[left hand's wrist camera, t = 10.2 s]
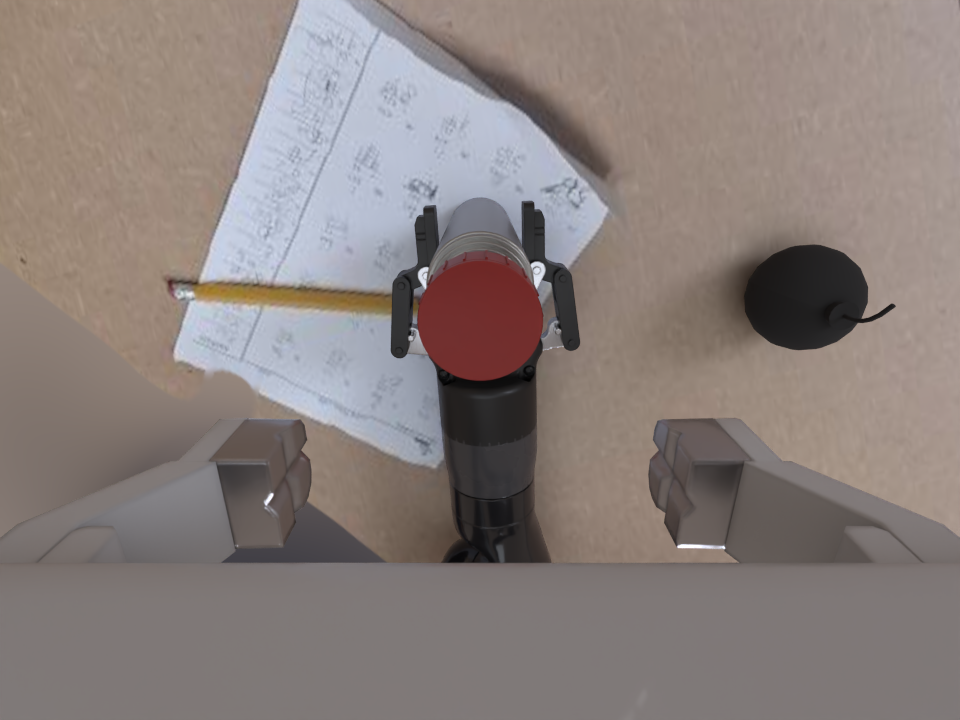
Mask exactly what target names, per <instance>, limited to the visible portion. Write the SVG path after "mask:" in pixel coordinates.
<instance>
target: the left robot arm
mask: <svg viewBox="0 0 960 720" xmlns="http://www.w3.org/2000/svg"><path fill="white" fill-rule="evenodd" d="M306 441H307V437H306V431H305V426H304V424H303V422H302V421H301V420H300V419H249V418H229V419H219V420H218V421H217V422H216V423H215V424H214V425H213V426H212V427H211V428H210V429H209V430H208V431H207V432H206V434H204V435H203V436H202V437H201V438H200V439H199V440H198V441H197V442H196V443H195V444H194V445H193V446H192V447H191V448H190V449H189V450H188V451H187V452H186V453H185V454H184V455H183V456H182V457H181V458H180V459H179V460H178V461H169V462H166V463H164V464H161V465H159V466H156V467H154V468H152V469H149V470H147V471H144V472H142V473H140V474H137V475H135V476H132V477H130V478H127V479H125V480H123V481H120V482H118V483H115V484H113V485H111V486H108V487H106V488H103V489H101V490H99V491H96V492H94V493H91V494H89V495H87V496H84V497H82V498H79V499H77V500H74V501H72V502H70V503H67V504H65V505H62V506H60V507H58V508H55V509H53V510H50V511H48V512H46V513H43V514H41V515H38V516H36V517H33V518H31V519H29V520H26V521H24V522H21V523H19V524H17V525H16V526H15V527H13V528H12V529H11V530H10V531H8V532H7V533H6V534H5V535H3V536H2V537H1V538H0V720H960V537H958V536H957V535H956V534H955V533H953V532H952V531H951V530H950V529H948V528H947V527H946V526H945V525H943V524H941V523H938V522H936V521H933V520H931V519H929V518H926V517H924V516H921V515H919V514H917V513H914V512H912V511H909V510H907V509H905V508H902V507H900V506H897V505H895V504H893V503H890V502H888V501H885V500H883V499H880V498H878V497H876V496H873V495H871V494H868V493H866V492H864V491H861V490H859V489H856V488H854V487H852V486H849V485H847V484H844V483H842V482H840V481H837V480H835V479H832V478H830V477H828V476H825V475H823V474H820V473H818V472H816V471H813V470H811V469H808V468H806V467H804V466H801V465H799V464H796V463H794V462H792V461H782V460H781V459H780V458H779V457H778V456H777V455H776V454H775V453H774V452H773V451H772V450H771V449H770V448H769V447H768V446H767V445H766V444H765V443H764V442H763V441H762V440H761V439H760V438H759V437H758V436H757V435H756V434H755V433H754V432H753V431H752V430H751V429H750V428H749V427H748V426H747V425H746V424H745V423H744V422H743V421H742V420H740V419H737V418H720V419H713V418H705V419H663V420H659V421H657V424H656V427H655V430H654V436H653V441H654V443H655V444H656V446H657V448H658V449H659V451H658V452H657V453H656V454H655V455H654V456H653V457H652V458H651V459H650V465H649V474H648V475H649V488H650V492H651V496H652V499H653V501H654V503H655V505H656V507H657V508H659V509H660V510H662V511H663V512H665V513H666V514H665V521H664V523H665V525H666V527H667V529H668V531H669V533H670V535H671V537H672V539H673V541H674V543H675V545H676V547H677V548H713V549H725V550H724V551H725V552H727V553H728V554H729V555H730V556H732V557H733V558H734V559H736V560H737V561H738V562H739V563H221V562H222V561H223V560H225V559H226V558H227V557H229V556H230V555H231V554H232V553H234V552H235V549H246V548H283V547H284V545H285V543H286V541H287V539H288V537H289V535H290V533H291V531H292V529H293V527H294V525H295V523H296V521H295V514H294V513H295V512H296V511H298V510H300V509H301V508H303V507H304V505H305V503H306V501H307V499H308V496H309V491H310V487H311V464H310V459H309V458H308V457H307V456H306V455H305V454H304V453H303V452H302V451H301V449H302V448H303V446H304V444H305V443H306Z"/></svg>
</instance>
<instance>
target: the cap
mask: <svg viewBox="0 0 960 720" xmlns="http://www.w3.org/2000/svg"><path fill="white" fill-rule="evenodd" d="M538 296H539V294H538V292H537V289H536V287H535V285H533V284H532V282H531V280H530V279H529V277H528V275H527V274H526V272H525V269H524V268H521V267H520V266H519V265H517V264H516V263H515V262H513V261H512V260H510V259H509V258H508V256H502V255H500V254H496V253H493V252H488V251H487V250H485V251H474V252H468V253H466V252H464V254H460V255H458V256H456V257H453V258H452V259H450V260H448V261H447V260H446V261H445V262H444V264H443V265H442V266H441V267H440V268H439V269H438V270H437V271H436V272H435V273H434V275H432V274H431V276H430V278H429V281H428V283H427V287H426V290H425V292H424V293H423V294H422V296H421V299H420V301H419V304H418V305H419V310H418V318H417V325H418V331H419V336H420V339H421V342H422V344H423V346H424V348H425V350H426V352H427V353H428V355H429V356H430V357H431V358H432V360H433V361H434V362H435V363H436V364H437V365H439V366H440V367H441V368H442V369H444V370H445V371H447V372H449V373H450V374H452V375H455V376H457V377H460V378H463V379H468V380H475V381H486V380H493V379H497V378H500V377H503V376H506V375H508V374H510V373H512V372H514V371H515V370H517V369H518V368H519V367H521V366H522V365H523V364H524V363H525V362H526V361H527V360H528V359H529V358H530V356H531V355H532V354H533V352H534V351H535V349H536V347H537V345H538V343H539V340H540V337H541V333H542V328H543V313H542V308H541V304H540V301H539V299H538Z"/></svg>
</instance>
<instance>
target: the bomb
mask: <svg viewBox="0 0 960 720" xmlns="http://www.w3.org/2000/svg"><path fill="white" fill-rule="evenodd" d="M744 300H745V312H746V314H747V316H748V318H749V320H750V322H751V324H752V326H753V328H754V330H756V331H757V332H758V333H759V334H760V335H762V336H763V337H764V338H765V339H767V340H768V341H769V342H770V343H773V344H775V345H778V346H782V347H785V348H789V349H793V350H807V349H817V348H822V347H824V346H827V345H829V344H832V343H835V342H837V341H838V340H840V339H841V338H843V337H844V336H845V335H847V334H848V333H849V332H851V331H852V330H853V328H854V327H855V326H856V325H857V323H865V322H871V321H874V320H876V319H878V318H880V317H882V316H883V315H885V314H886V313H888V312H889V311H890V310H892V309H893V308H895V307H896V306H895V305H894V304H890V305H889V306H888V307H886V308H885V309H883V310H882V311H881V312H879V313H878V314H876V315H874V316H871V317H869V318H865V319H861V318H862V316H863V313H864V310H865V308H866V305H867V303H868V286H867V283H866V281H865V278H864V276H863V273H862V271H861V268H860V267H859V266H858V265H857V264H855V263H854V262H853V261H852V260H851V259H850V258H849V257H848V256H846V255H845V254H844V253H842V252H840V251H838V250H835V249H831V248H828V247H825V246H821V245H803V246H794V247H790V248H787V249H785V250H782V251H780V252H778V253H775V254H773V255H772V256H771V257H769V258H768V259H767V260H766V261H764V262H763V263H762V264H761V265H760V266H758V267H757V269H756V270H755V272H754V273H753V275H752V276H751V278H750V279H749V281H748V285H747V288H746V291H745V295H744Z"/></svg>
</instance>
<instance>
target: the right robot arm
mask: <svg viewBox="0 0 960 720" xmlns="http://www.w3.org/2000/svg"><path fill="white" fill-rule="evenodd" d="M423 214H424V215H419V216H418V217H417V219H416V222H415V234H416V245H417V256H418V264H417V266H415V267H413V268H411V269H408V270H403V271H401V272H400V273H399V274H398V276H397V278H396V279H395V280H394V282H393V289H392V325H391V353H392V355H393V356H394V357H396V358H403V357H405V356H406V354H419V355H428V353H427V352H426V350H425V348H424V346H423V344H422V342H421V339H420V336H419V331H418V325H417V324H412V320H413V297H414V289H415V288H418V287H420V286H423V288H424V289H425V290H426V279H427V273H428V269H429V266H430V263H431V261H432V259H433V257H434V255H435V252H436V250H437V248H438V246H439V235H438V223H437V210H436V205H431V206H425V207H424V208H423ZM522 247H523V249H524V252H525V254H526V256H527V258H528V260H529V262H530V265H531V268H532V271H533V275H534V285H535V287H536V289H538V287H539V285H540V283H541V281H542V280H544V281H547V282H551V284H552V291H553V298H554V305H555V312H556V317H553V318H551V319H550V320H549V321H548V324H547V330H546V331H545V332H544V333H543V334H541V337H540V340H539V343H538V345H537V347H536V349H535V351H534V352H533V354H532V355H531V356H530V358H529V359H528V360H527V361H526V362H525V363H524V364H523V365H522V366H521V367H519V368H518V369H517V370H515V371H514V372H512V373H510V374H508V375H506V376H503V377H500V378H497V379H493V380H486V381H475V380H468V379H463V378H460V377H457V376H455V375H452V374H450V373H449V372H447V371H445V370H444V369H442V368H441V367H440V366H439V365H437V364H436V363H435V362H434V361H433V360H432V358H431V357H430V356H429V358H430V359H431V361H432V362H433V364H434V365H435V368H436V371H437V382H438V393H439V404H440V416H441V427H442V438H443V449H444V456H445V461H446V465H447V469H448V473H449V483H450V495H451V505H452V515H453V521H454V525H455V528H456V530H457V532H458V534H459V535H460V536H461V537H462V538H461V539H459V540H458V541H456V542H455V543H454V544H453V545H452V546H451V547H450V548H449V549H448V551H447V553H446V554H445V556H444V558H443V560H442V562H441V563H552V562H551V559H550V555H549V553H548V550H547V547H546V544H545V541H544V538H543V535H542V532H541V528H540V525H539V522H538V520H537V517H536V514H535V510H534V467H535V461H536V453H537V405H536V364H537V361H538V359H539V357H540V355H541V353H542V351H543V350H546V349H551V348H557V347H563V346H564V347H565V349H567V350H569V351H573V350H576V349H577V348H578V347H579V345H580V338H579V330H578V322H577V314H576V306H575V298H574V291H573V283H572V276H571V274H570V272H569V271H568V270H567V268H566V267H565V266H564V265H563V264H561V263H555V262H552V261H549V260H547V259H546V258H545V219H544V216H543V214H542V211H541V210H539V209H535V210H534V202H533V201H522Z"/></svg>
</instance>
